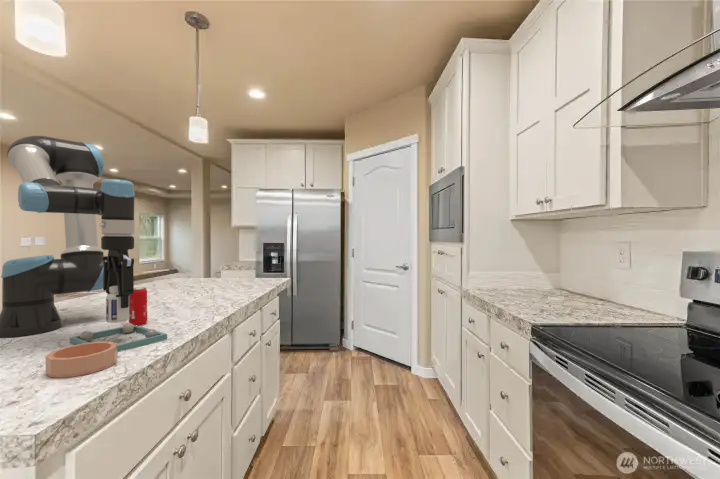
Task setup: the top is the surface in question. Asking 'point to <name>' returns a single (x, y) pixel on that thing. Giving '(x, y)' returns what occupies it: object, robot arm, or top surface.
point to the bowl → (81, 359)
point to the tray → (128, 345)
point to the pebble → (128, 328)
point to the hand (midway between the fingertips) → (118, 317)
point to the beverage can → (138, 306)
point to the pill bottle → (113, 306)
